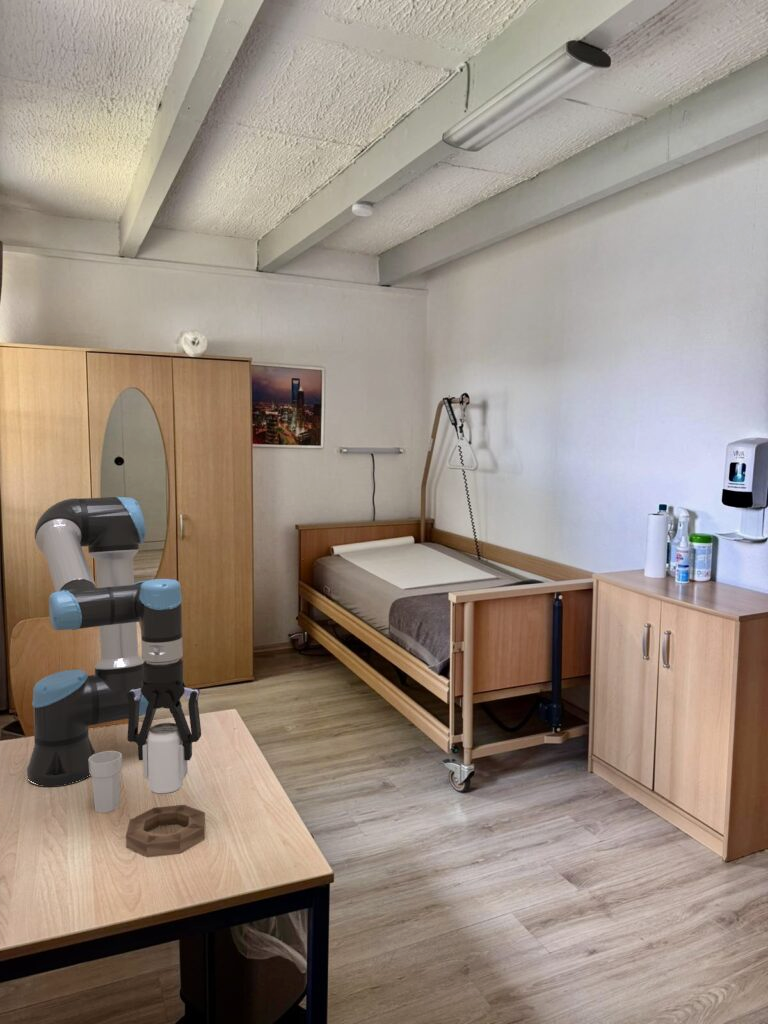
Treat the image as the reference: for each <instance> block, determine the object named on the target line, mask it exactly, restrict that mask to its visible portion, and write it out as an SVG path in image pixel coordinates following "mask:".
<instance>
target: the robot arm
mask: <svg viewBox="0 0 768 1024" xmlns="http://www.w3.org/2000/svg"><path fill="white" fill-rule="evenodd" d="M146 532H147V531H146V523H145V518H144V515H143V511H142V509H141V506H140V504H139V502H138V501H137V500H136V499H134V498H133V497H127V496H124V497H123V496H121V497H120V496H114V497H113V496H110V497H109V496H108V497H87V498H78V497H77V498H76V497H75V498H73V497H72V498H67V499H64V500H60V501H59V502H57V503H55V504H53V505H51V506H50V507H49V508H48V509H46V510H45V511H44V512H43V513H42V514H41V516H40V517H39V519H38V520H37V523H36V524H35V528H34V539H35V543H36V546H37V548H38V550H39V551H40V552H42V553H43V554H44V558H45V560H46V563H47V566H48V571H49V574H50V576H51V580H52V585H53V588H54V591H55V592H52V593H51V594H50V595H49V599H48V613H49V620H50V625H51V627H52V628H53V629H54V630H56V631H68V630H69V631H70V630H71V631H75V630H79V629H87V628H93V627H94V628H95V627H99V644H100V645H99V646H100V647H99V648H100V659H99V660H98V662H97V663H96V664H95V666H94V674H90V675H88V673H87V672H86V671H85V670H84V669H68V670H62V671H58V672H55V673H52V674H48V675H47V676H45V677H43V678H41V679H39V681H37V682H36V684H35V685H34V686H33V688H32V689H33V690H32V693H33V694H32V702H31V704H32V705H31V706H32V707H33V736H34V739H33V740H34V744H33V745H34V746H33V748H32V752H31V756H30V759H29V763H28V765H27V771H26V773H27V775H26V776H28V777H27V780H28V779H29V780H30V781H32V782H34V783H36V784H38V785H43V786H42V787H46V786H51V787H60V786H59V785H62V786H65V785H64V784H67V785H70V784H69V783H72V782H75V783H77V782H76V781H78V782H80V781H79V780H81V779H83V778H86V777H87V776H89V775H90V773H89V763H88V759H89V757H90V756H92V755H93V754H96V752H95V749H94V747H93V744H92V742H91V739H90V736H89V727H91V726H94V725H101V724H105V723H110V722H117V721H123V720H127V721H128V722H127V723H128V725H127V737H126V738H127V739H126V740H127V741H128V742H129V743H135V744H136V745H137V759H138V761H142V770H143V771H142V773H143V774H142V775H143V779H144V780H146V779H149V774H148V735H149V733H150V728H151V727H152V724H153V721H154V719H155V718H154V717H155V715H156V711H157V709H169V712H170V714H171V715H172V717H173V720H174V723H175V724H176V726H177V728H178V731H179V734H180V737H181V739H182V743H181V744H180V746H179V762H180V779H183V780H185V778H186V776H187V774H188V773H189V772H188V765H189V764H188V761H190V760H191V759H192V756H193V743H196V742H198V741H199V740H200V738H201V736H202V728H201V727H202V726H201V719H200V710H199V695H200V689H199V688H197V687H196V688H194V689H192V688H190V687H189V688H188V687H186V684H185V682H184V660H183V659H181V658H182V657H183V655H184V653H183V651H184V650H183V619H182V617H183V614H182V613H183V611H182V608H183V607H182V606H183V605H182V601H183V596H182V589H181V583H180V582H179V581H178V580H176V579H173V578H172V579H171V578H155V579H149V580H142V581H141V580H140V581H136V582H135V574H134V572H135V571H134V556H136V555H137V553H138V552H139V545H141V544H143V543H144V542H145V541H146ZM83 547H87V548H88V555H89V556H90V557H92V558H93V559H94V561H95V572H96V582H95V579H94V578H93V577H94V576H93V573H92V571H91V569H90V566H89V564H88V561H87V559H86V556H85V552H84V551H83ZM137 622H140V624H141V625H140V626H141V653H142V657H141V656H140V655H139V643H138V630H137V629H138V626H137ZM184 695H185V699H186V700H187V701H188V703H187V705H188V714H189V715H188V716H189V724H190V727H189V725H188V722H187V718H186V716H185V713H184V711H183V708H182V707H183V706H182V702H181V699H182V697H183V696H184ZM143 716H144V718H143V720H142V723H141V727H140V730H139V725H140V724H139V723H140V721H139V720H140V717H143ZM89 777H90V776H89ZM86 779H87V778H86ZM81 781H82V780H81ZM72 784H73V783H72ZM57 785H58V786H57Z"/></svg>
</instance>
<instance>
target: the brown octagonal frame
mask: <svg viewBox="0 0 768 1024" xmlns="http://www.w3.org/2000/svg"><path fill="white" fill-rule="evenodd" d="M173 825H179V826H181V827H183V828H181V829H179V830H178V831H176V832H174V833H166V834H164V833H163V834H153V833H151V831H152V830H155V829H157V828H158V827H161V826H173ZM205 830H206V813H205V811H202V810H199V809H197V808H194V807H191V806H189V805H186V804H177V805H167V806H166V805H165V806H157V807H153V808H151V809H148V810H147V811H145V812H143V813H141V814H139V815H136V816H134V817H133V818H131V819H129V821H128V826H127V830H126V833H125V846H126V847H125V848H126V849H128V850H131V851H133V852H135V853H138V854H139V855H141V856H144V857H146V858H151V857H161V856H167V855H168V856H170V855H179V854H182V853H184V852H185V851H187V850H188V849H191V848H192V847H194V846H195V845H197V844H199V843H201V842H202V841H204V840H205Z"/></svg>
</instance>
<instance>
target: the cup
mask: <svg viewBox="0 0 768 1024" xmlns="http://www.w3.org/2000/svg"><path fill="white" fill-rule="evenodd" d="M88 763H89V773H90V775H91V776H90V777H91V780H92V781H91V782H92V792H93V794H92V795H93V806H94V807H93V808H94V812H97V813H100V814H105V813H110V812H115V810H117V809H118V808H120V793H121V792H120V791H121V790H120V785H121V771H122V768H123V766H122V765H123V754H122V753H121V752H120V751H117V750H104V751H100V752H95V754H93V755H92V756H90V757H89V759H88Z"/></svg>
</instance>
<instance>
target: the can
mask: <svg viewBox="0 0 768 1024" xmlns="http://www.w3.org/2000/svg"><path fill="white" fill-rule="evenodd" d="M147 741H148V774H149V777H148V789H149V790H150V792H151V793H153V794H156V795H157V794H158V795H169V794H173V793H175V792H177V791H179V790H180V789H182V786H184V779H180V762H179V746H180V744H181V743H182V739H181V737H180V734H179V731H178V728H177V726H176V723H175V722H164V723H163V722H161V723H159V724H158V723H157V724H155V725H151V727H150V731H149V734H148V738H147Z"/></svg>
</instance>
